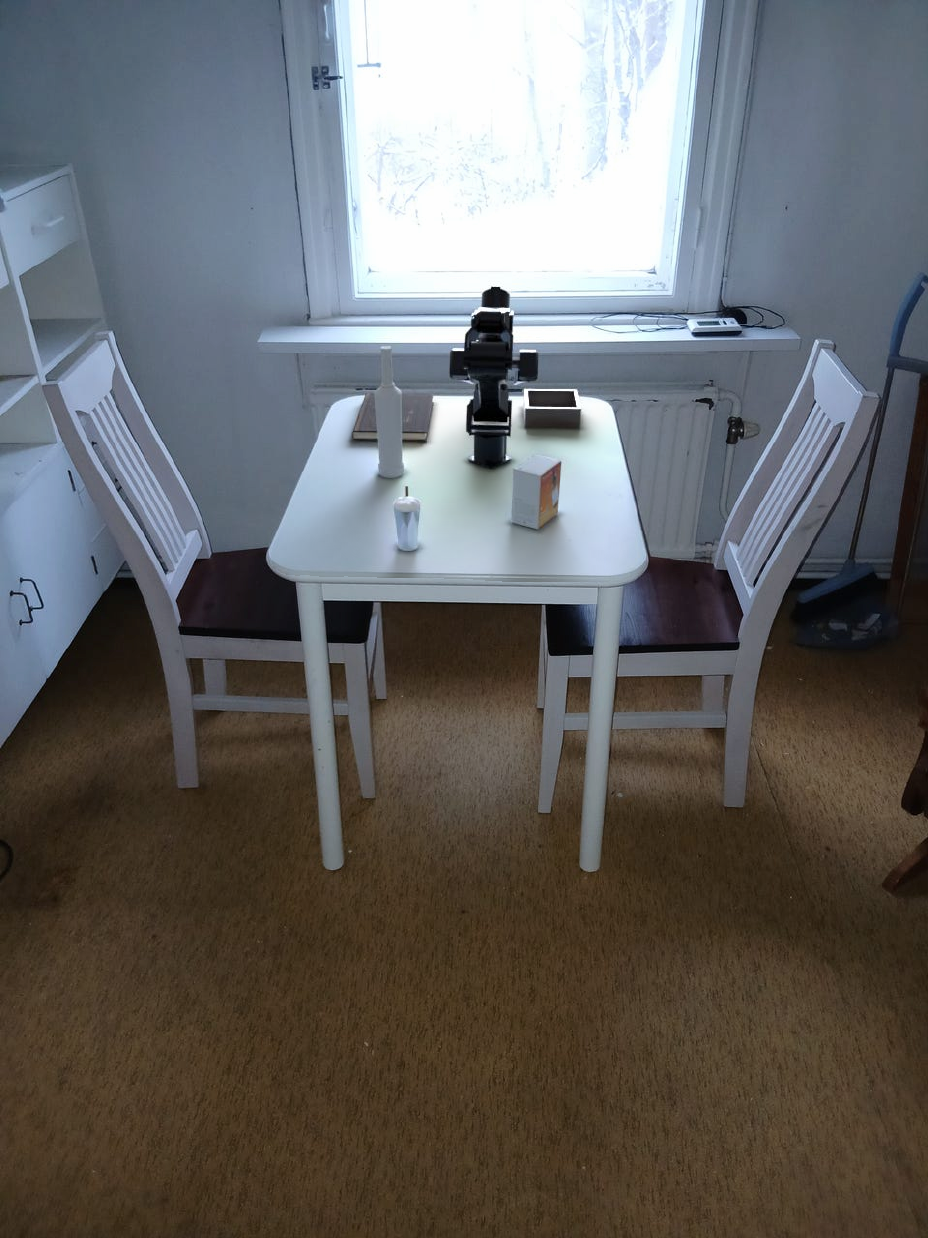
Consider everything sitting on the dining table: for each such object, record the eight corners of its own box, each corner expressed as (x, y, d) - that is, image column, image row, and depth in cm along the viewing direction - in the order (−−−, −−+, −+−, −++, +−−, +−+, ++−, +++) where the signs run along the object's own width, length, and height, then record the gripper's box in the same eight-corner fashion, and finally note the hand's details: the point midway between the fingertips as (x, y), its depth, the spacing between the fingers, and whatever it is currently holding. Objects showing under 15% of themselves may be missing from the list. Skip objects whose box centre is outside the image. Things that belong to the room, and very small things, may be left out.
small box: (537, 530, 162) (540, 476, 156) (510, 522, 164) (512, 468, 159) (558, 513, 168) (562, 460, 162) (532, 506, 170) (534, 453, 164)
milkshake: (421, 538, 160) (420, 485, 154) (421, 553, 155) (420, 499, 150) (395, 538, 159) (393, 485, 154) (394, 553, 155) (392, 500, 149)
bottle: (373, 475, 181) (366, 349, 167) (387, 465, 185) (381, 341, 171) (395, 480, 179) (390, 353, 165) (409, 470, 183) (405, 345, 169)
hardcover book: (433, 403, 214) (433, 393, 213) (426, 442, 195) (426, 431, 194) (365, 402, 215) (364, 392, 213) (352, 440, 195) (351, 430, 194)
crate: (579, 428, 202) (581, 408, 199) (524, 427, 202) (525, 408, 199) (575, 408, 212) (577, 389, 209) (523, 407, 212) (524, 388, 209)
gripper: (540, 312, 189) (536, 349, 204) (450, 311, 190) (453, 348, 205) (539, 362, 187) (535, 396, 202) (447, 360, 187) (451, 394, 203)
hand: (493, 382), depth 203 cm, fingers open, 9 cm apart
